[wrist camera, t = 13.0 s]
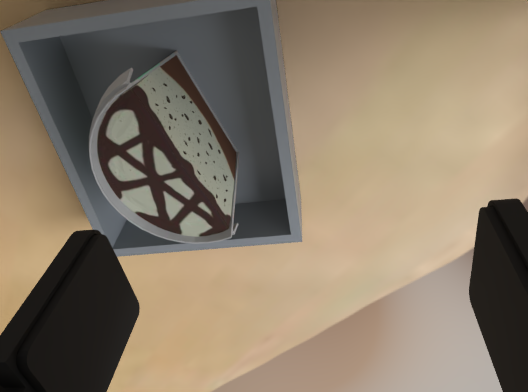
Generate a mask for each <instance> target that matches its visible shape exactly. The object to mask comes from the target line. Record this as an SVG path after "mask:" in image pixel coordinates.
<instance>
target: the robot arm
mask: <svg viewBox="0 0 528 392" xmlns="http://www.w3.org/2000/svg"><path fill="white" fill-rule="evenodd" d="M469 295H470V302H471V305H472V308H473V310H474V313H475V316H476V319H477V321H478V324H479V327H480V330H481V332H482V335H483V338H484V341H485V344H486V346H487V349H488V352H489V355H490V357H491V360H492V363H493V366H494V368H495V371H496V374H497V377H498V379H499V382H500V385H501V388H502V390H503V392H528V212H527V210H526V209H525V207H524V206H523V204H522V203H521V201H520V200H519V199H505V200H491V201H489V203H488V206H487V207H482V208H480V211H479V217H478V224H477V232H476V240H475V248H474V256H473V263H472V271H471V278H470V286H469ZM138 315H139V302H138V300H137V298H136V296H135V294H134V292H133V290H132V287H131V285H130V283H129V281H128V279H127V277H126V275H125V273H124V271H123V269H122V267H121V265H120V263H119V260H118V258H117V256H116V254H115V252H114V250H113V248H112V246H111V244H110V242H109V240H108V238H107V236H105V235H103V234H101V232H100V231H98V230H83V231H76V232H74V233H73V234H72V235H71V236H70V238H69V239H68V240H67V242H66V243H65V245H64V246H63V247H62V249H61V250H60V252H59V253H58V255H57V256H56V257H55V259H54V260H53V262H52V263H51V264H50V266H49V267H48V269H47V270H46V272H45V273H44V274H43V276H42V277H41V279H40V280H39V281H38V283H37V284H36V286H35V287H34V288H33V290H32V291H31V293H30V294H29V296H28V297H27V298H26V300H25V301H24V303H23V304H22V305H21V307H20V308H19V310H18V311H17V313H16V314H15V315H14V317H13V318H12V320H11V321H10V322H9V324H8V325H7V327H6V328H5V330H4V331H3V332H2V334H1V335H0V392H107V389H108V387H109V385H110V382H111V380H112V377H113V375H114V373H115V370H116V368H117V365H118V363H119V361H120V358H121V356H122V353H123V351H124V349H125V346H126V344H127V342H128V339H129V337H130V334H131V332H132V330H133V327H134V325H135V322H136V320H137V318H138Z"/></svg>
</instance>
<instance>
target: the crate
mask: <svg viewBox="0 0 528 392" xmlns="http://www.w3.org/2000/svg"><path fill="white" fill-rule="evenodd" d="M0 32H1V34H2V36H3V38H4V40H5V42H6V45H7V47H8V49H9V51H10V53H11V55H12V57H13V60H14V62H15V64H16V66H17V68H18V70H19V72H20V75H21V77H22V79H23V81H24V83H25V85H26V87H27V89H28V92H29V94H30V96H31V98H32V100H33V102H34V104H35V107H36V109H37V111H38V113H39V115H40V117H41V119H42V122H43V124H44V126H45V128H46V130H47V132H48V134H49V137H50V139H51V141H52V143H53V145H54V147H55V149H56V152H57V154H58V156H59V158H60V160H61V162H62V164H63V167H64V169H65V171H66V173H67V175H68V177H69V179H70V181H71V184H72V186H73V188H74V190H75V192H76V194H77V196H78V199H79V201H80V203H81V205H82V207H83V209H84V211H85V214H86V216H87V218H88V220H89V222H90V224H91V226H92V229H93V230H98V231H100V232H101V234H103V235H105V236H107V238H108V240H109V242H110V244H111V246H112V248H113V250H114V252H115V254H116V256H130V255H142V254H154V253H167V252H179V251H192V250H204V249H217V248H229V247H242V246H254V245H266V244H279V243H291V242H302V217H301V195H300V187H299V179H298V171H297V163H296V155H295V147H294V139H293V131H292V123H291V115H290V107H289V99H288V91H287V83H286V76H285V68H284V60H283V52H282V44H281V36H280V28H279V20H278V12H277V4H276V0H105V1H99V2H93V3H86V4H80V5H74V6H68V7H61V8H55V9H49V10H45V11H42V12H40V13H38V14H36V15H34V16H32V17H30V18H27V19H25V20H23V21H21V22H19V23H17V24H14V25H12V26H10V27H8V28H6V29H4V30H2V31H0ZM175 51H178V53H179V54H180V56H181V58H182V59H183V61H184V63H185V64H186V66H187V68H188V69H189V71H190V72H191V74H192V76H193V77H194V79H195V81H196V82H197V84H198V86H199V87H200V89H201V90H202V92H203V94H204V95H205V97H206V99H207V100H208V102H209V103H210V105H211V107H212V108H213V110H214V112H215V113H216V115H217V117H218V118H219V120H220V121H221V123H222V125H223V126H224V128H225V130H226V131H227V133H228V135H229V136H230V138H231V139H232V141H233V143H234V144H235V146H236V148H237V149H238V151H239V163H238V175H237V187H236V198H235V210H234V222H233V224H235V223H238V224H239V225H238V227H237V229H236V232H235V234H234V235H232V238H230V239H226V240H223V241H218V242H212V243H200V244H192V243H181V242H176V241H171V240H167V239H164V238H161V237H158V236H155V235H153V234H151V233H149V232H147V231H144V230H142V229H141V228H139V227H137V226H136V225H134V224H133V223H131V222H130V221H128V220H127V219H126V218H125V217H123V216H122V215H121V214H120V213H119V212H118V211H117V210H116V209H115V208H114V207H113V206H112V205H111V204H110V203H109V201H108V200H107V199H106V197H105V196H104V195H103V193H102V191H101V189H100V188H99V186H98V184H97V182H96V180H95V177H94V174H93V171H92V168H91V162H90V156H89V133H90V128H91V123H92V120H93V117H94V115H95V112H96V109H97V107H98V104H99V102H100V100H101V98H102V96H103V95H104V93H105V92H106V90H107V89H108V87H109V86H110V85H111V84H112V83H113V82H114V81H115V80H116V79H117V78H118V77H119V76H120V75H121V74H123V73H124V72H126V71H127V70H128V69H130V68H132V69H133V72H132V75H131V78H130V81H129V82H130V83H131V82H133V81H134V80H136V79H137V78H138V77H140V76H141V75H143V74H144V73H145V72H147V71H148V70H150V69H151V68H152V67H154V66H155V65H157V64H158V63H159V62H161V61H162V60H164V59H165V58H166V57H168V56H169V55H171V54H172V53H174V52H175Z"/></svg>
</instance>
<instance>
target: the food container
mask: <svg viewBox="0 0 528 392" xmlns="http://www.w3.org/2000/svg"><path fill="white" fill-rule="evenodd" d="M132 72H133V69H132V68H130V69H128V70H127V71H126V72H124V73H123V74H121V75H120V76H119V77H118V78H117V79H116V80H115V81H114V82H113V83H112V84H111V85H110V86H109V87H108V89H107V90H106V92H105V93H104V95H103V96H102V98H101V100H100V102H99V104H98V107H97V109H96V112H95V115H94V117H93V120H92V123H91V128H90V133H89V156H90V162H91V168H92V171H93V174H94V177H95V180H96V182H97V184H98V186H99V188H100V189H101V191H102V193H103V195H104V196H105V197H106V199H107V200H108V201H109V203H110V204H111V205H112V206H113V207H114V208H115V209H116V210H117V211H118V212H119V213H120V214H121V215H122V216H123V217H125V218H126V219H127V220H128V221H130V222H131V223H133V224H134V225H136V226H137V227H139V228H141V229H142V230H144V231H147V232H149V233H151V234H153V235H155V236H158V237H161V238H164V239H167V240H171V241H176V242H181V243H192V244H200V243H212V242H218V241H223V240H226V239H230V238H232V235H234V234H235V232H236V229H237V227H238V225H239V224H238V223H235V224H233V222H234V210H235V198H236V187H237V175H238V163H239V151H238V149H237V148H236V146H235V144H234V143H233V141H232V139H231V138H230V136H229V135H228V133H227V131H226V130H225V128H224V126H223V125H222V123H221V121H220V120H219V118H218V117H217V115H216V113H215V112H214V110H213V108H212V107H211V105H210V103H209V102H208V100H207V99H206V97H205V95H204V94H203V92H202V90H201V89H200V87H199V86H198V84H197V82H196V81H195V79H194V77H193V76H192V74H191V72H190V71H189V69H188V68H187V66H186V64H185V63H184V61H183V59H182V58H181V56H180V54H179V53H178V51H175V52H174V53H172V54H171V55H169V56H168V57H166V58H165V59H164V60H162V61H161V62H159V63H158V64H157V65H155V66H154V67H152V68H151V69H150V70H148V71H147V72H145V73H144V74H143V75H141V76H140V77H138V78H137V79H136V80H134V81H133V82H131V83H130V82H129V81H130V78H131V75H132Z"/></svg>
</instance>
